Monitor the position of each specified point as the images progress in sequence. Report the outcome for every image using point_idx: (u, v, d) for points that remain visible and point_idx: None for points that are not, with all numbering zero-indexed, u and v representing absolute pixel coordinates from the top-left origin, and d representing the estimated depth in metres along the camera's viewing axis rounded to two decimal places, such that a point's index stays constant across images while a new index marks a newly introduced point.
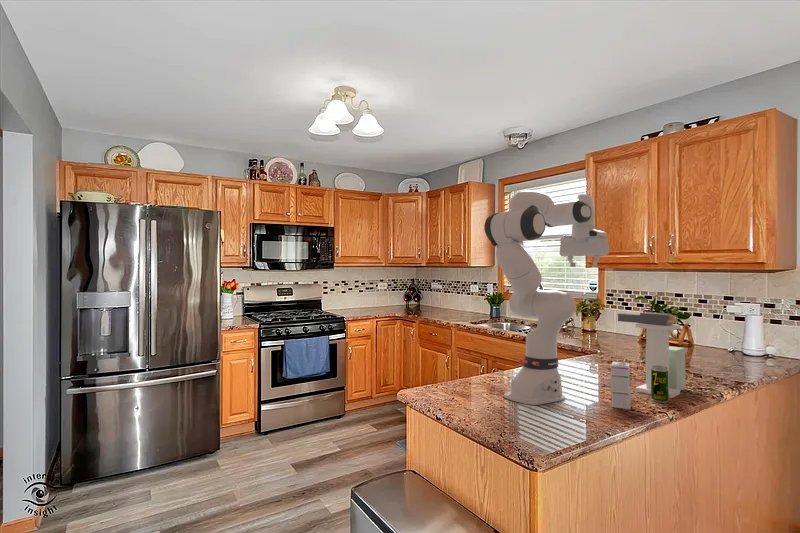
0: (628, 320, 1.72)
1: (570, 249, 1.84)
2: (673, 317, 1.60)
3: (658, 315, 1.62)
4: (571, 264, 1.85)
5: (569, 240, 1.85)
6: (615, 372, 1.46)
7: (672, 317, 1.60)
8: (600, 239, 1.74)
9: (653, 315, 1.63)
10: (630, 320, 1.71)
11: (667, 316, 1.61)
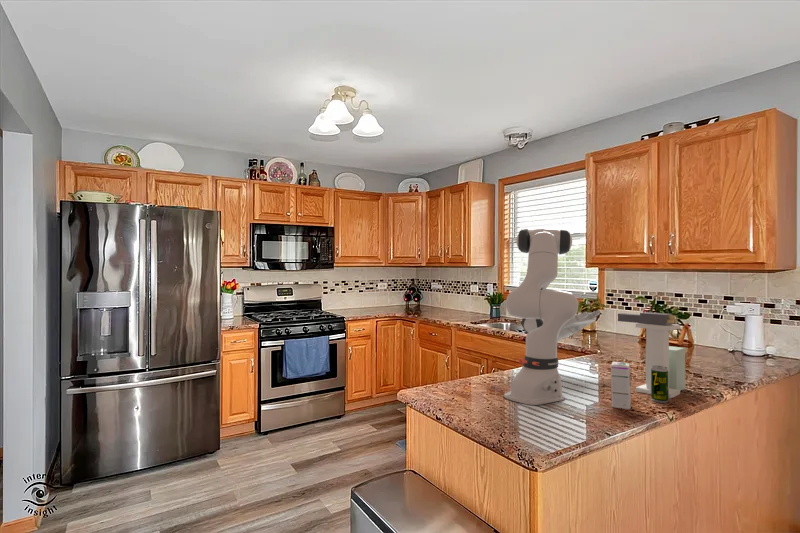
0: (628, 320, 1.72)
1: None
2: (673, 317, 1.60)
3: (658, 315, 1.62)
4: None
5: None
6: (615, 372, 1.46)
7: (672, 317, 1.60)
8: None
9: (653, 315, 1.63)
10: (630, 320, 1.71)
11: (667, 316, 1.61)
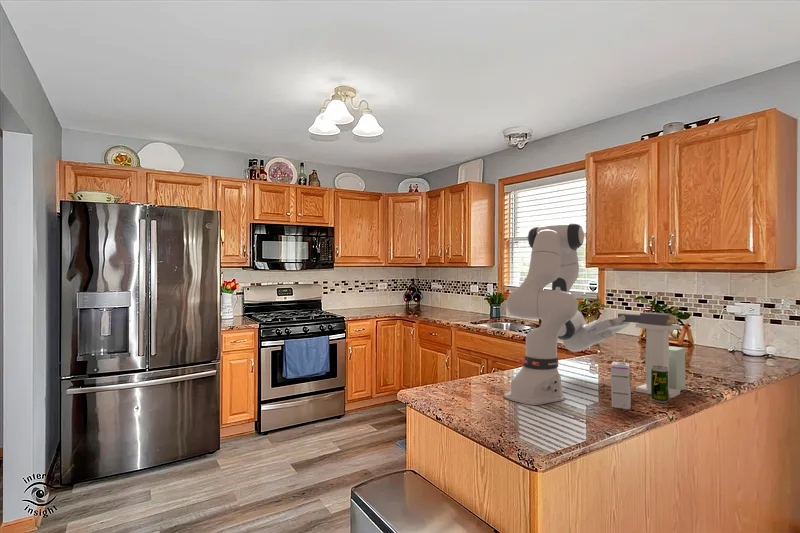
0: (628, 320, 1.71)
1: None
2: (673, 317, 1.60)
3: (658, 315, 1.62)
4: None
5: None
6: (615, 372, 1.46)
7: (672, 317, 1.60)
8: None
9: (653, 315, 1.63)
10: (630, 320, 1.71)
11: (667, 316, 1.61)
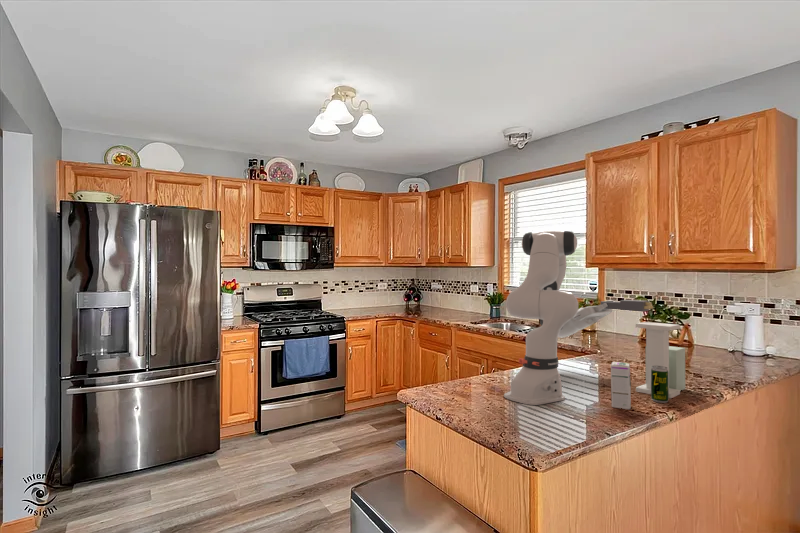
0: (610, 307, 1.87)
1: None
2: (649, 304, 1.76)
3: (636, 302, 1.77)
4: None
5: None
6: (615, 372, 1.46)
7: (649, 304, 1.76)
8: None
9: (632, 302, 1.79)
10: (611, 307, 1.87)
11: (644, 303, 1.77)
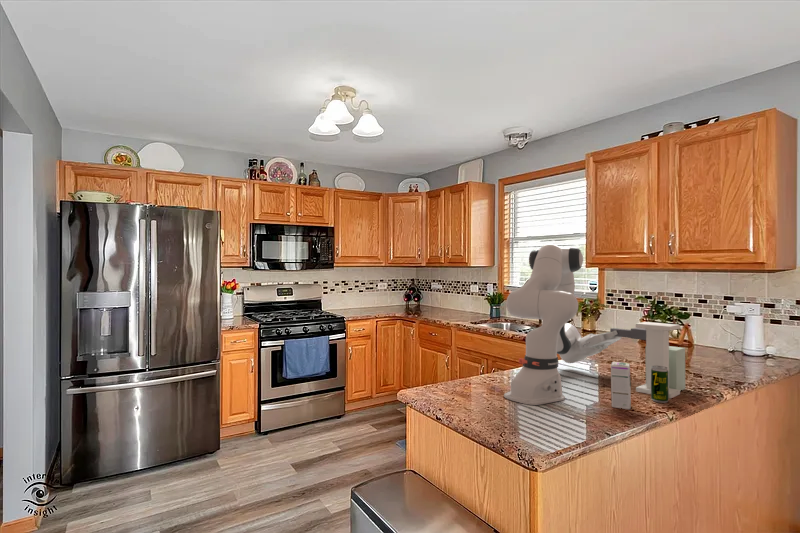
0: (620, 335, 1.84)
1: None
2: None
3: None
4: (613, 331, 1.85)
5: None
6: (615, 372, 1.46)
7: None
8: None
9: (643, 331, 1.75)
10: (622, 335, 1.83)
11: None
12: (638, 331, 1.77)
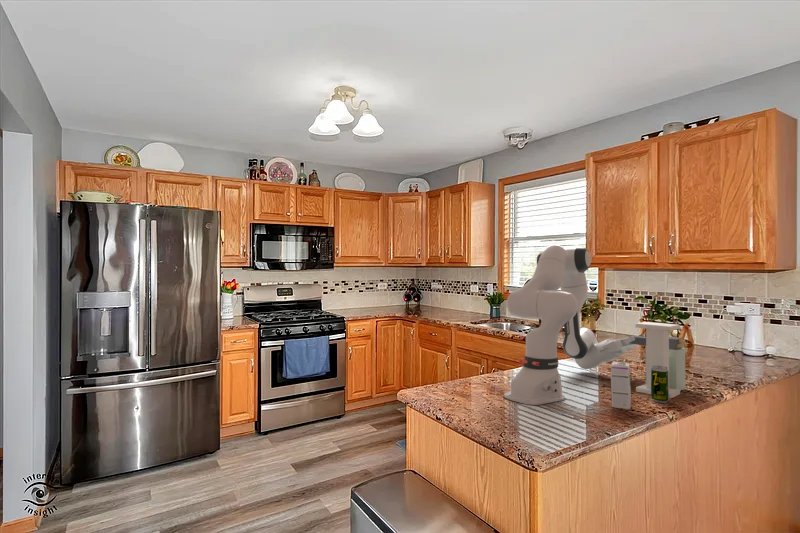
0: (639, 343, 1.78)
1: None
2: (683, 341, 1.66)
3: (669, 339, 1.68)
4: None
5: None
6: (615, 372, 1.46)
7: (682, 342, 1.67)
8: None
9: None
10: (641, 343, 1.77)
11: (677, 340, 1.67)
12: None
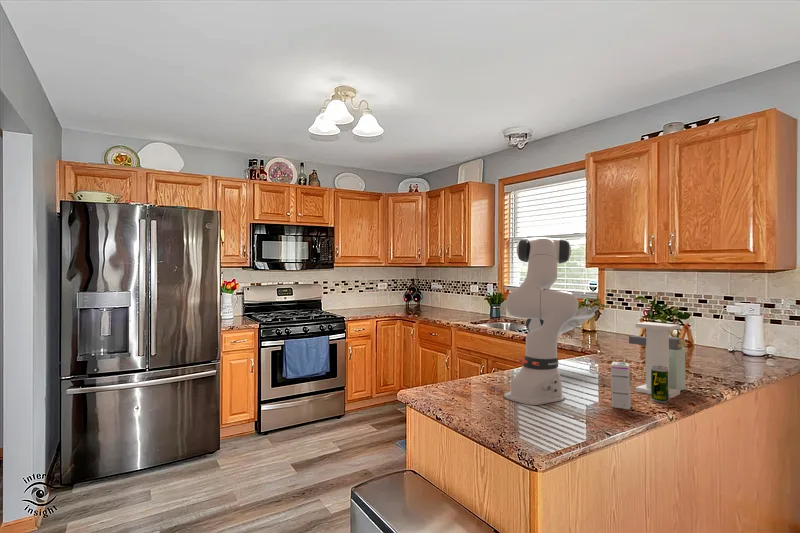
0: (639, 343, 1.78)
1: None
2: (683, 341, 1.66)
3: (669, 339, 1.68)
4: None
5: None
6: (615, 372, 1.46)
7: (682, 342, 1.67)
8: None
9: None
10: (641, 343, 1.77)
11: (677, 340, 1.67)
12: None
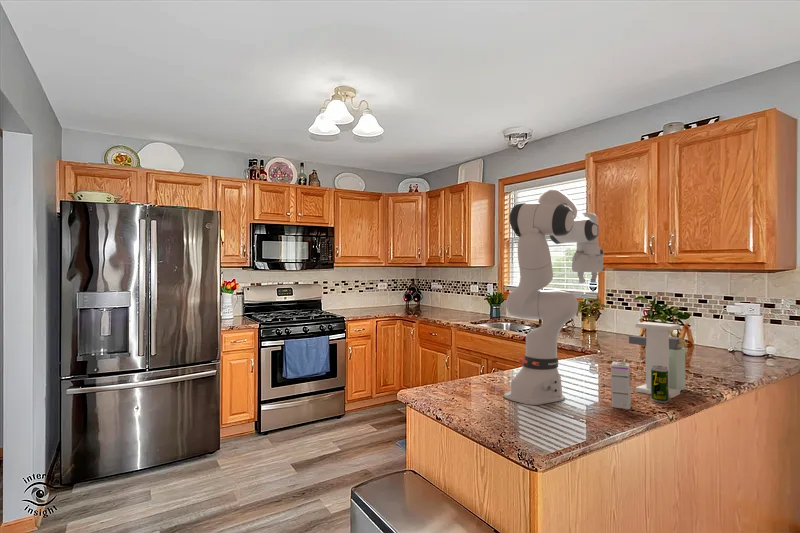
0: (639, 343, 1.78)
1: (585, 265, 1.83)
2: (683, 341, 1.66)
3: (669, 339, 1.68)
4: (583, 280, 1.84)
5: (585, 256, 1.83)
6: (615, 372, 1.46)
7: (682, 342, 1.67)
8: (602, 258, 1.91)
9: None
10: (641, 343, 1.77)
11: (677, 340, 1.67)
12: None
